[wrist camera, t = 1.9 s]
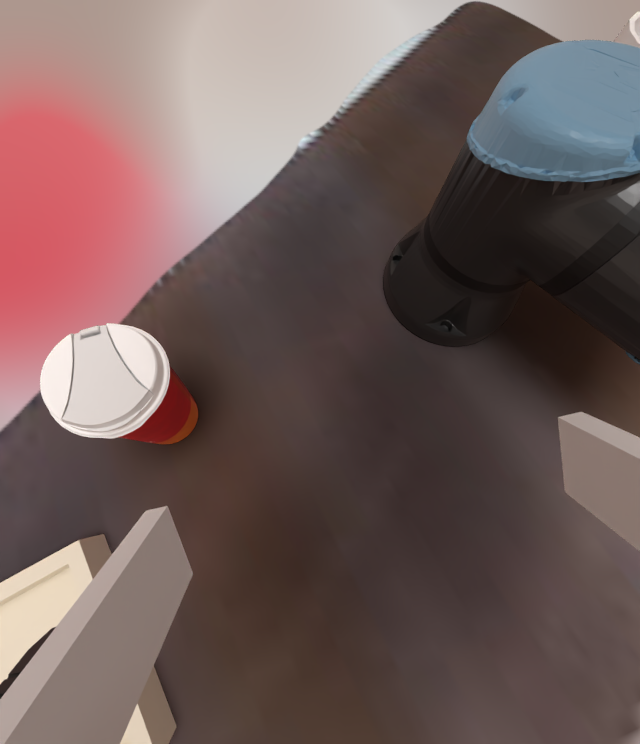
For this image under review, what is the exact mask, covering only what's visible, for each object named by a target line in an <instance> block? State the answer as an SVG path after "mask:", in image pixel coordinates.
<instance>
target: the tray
mask: <svg viewBox="0 0 640 744" xmlns="http://www.w3.org/2000/svg"><path fill="white" fill-rule="evenodd" d="M111 555H112V554H111V551H110V549H109V546H108V543H107V541H106V538H105V535H104V534H101V535H97V536H93V537H89V538H85V539H81V540H78V541H76V542H74V543H72V544H71V545H69V546H67V547H65V548H63V549H61V550H60V551H58V552H56V553H54V554H52V555H50V556H49V557H47V558H45V559H43V560H41V561H39V562H38V563H36V564H34V565H32V566H30V567H29V568H27V569H25V570H23V571H21V572H19V573H18V574H16V575H14V576H12V577H10V578H8V579H7V580H5V581H3V582H1V583H0V684H1V683H2V682H3V680H5V679H7V678H8V674H9V673H10V672H11V670H12V669H13V668H14V667H15V665H16V664H17V663H18V662H19V660H20V659H21V658H22V657H23V656H24V654H25V653H26V652H27V651H28V649H30V648H31V647H32V646H33V645H34V644H35V643H36V642H37V641H38V640H39V639H40V638H42V637H43V636H44V635H45V634H46V633H47V632H48V631H49V630H50V629H51V628H54V627H56V626H57V625H58V624H59V623H60V621H61V620H62V619H63V617H64V616H65V615H66V614H67V612H68V611H69V610H70V608H71V607H72V606H73V604H74V603H75V602H76V601H77V599H78V598H79V597H80V595H81V594H82V593H83V591H84V590H85V589H86V588H87V586H88V585H89V584H90V582H91V581H92V580H93V579H94V577H95V576H96V575H97V573H98V572H99V571H100V569H101V568H102V567H103V566H104V564H105V563H106V562H107V560H108V559H109V558H110V556H111ZM176 727H177V726H176V723H175V721H174V718H173V715H172V713H171V710H170V707H169V705H168V702H167V699H166V697H165V694H164V691H163V689H162V686H161V683H160V681H159V678H158V676H157V673H156V670H155V668H154V666H153V668H152V671H151V673H150V675H149V677H148V680H147V682H146V684H145V687H144V689H143V691H142V694H141V696H140V698H139V701H138V703H137V705H136V708H135V710H134V712H133V715H132V717H131V719H130V722H129V724H128V726H127V729H126V731H125V733H124V736H123V738H122V740H121V743H120V744H169V742H170V740H171V738H172V736H173V734H174V731H175V729H176Z"/></svg>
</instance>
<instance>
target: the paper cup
mask: <svg viewBox="0 0 640 744" xmlns="http://www.w3.org/2000/svg"><path fill="white" fill-rule="evenodd" d="M40 388H41V394H42V397H43V400H44V402H45V404H46V406H47V408H48V409H49V411H50V413H51V415H52V416H53V417H54V419H55V420H56V421H57V422H58V423H59V424H60V425H61V426H62V427H64V428H65V429H67V430H69V431H70V432H72V433H75V434H78V435H81V436H85V437H91V438H110V439H113V438H117V437H120V438H125V439H131V440H137V441H143V442H149V443H155V444H172V443H176V442H179V441H181V440H183V439H184V438H186V437H187V436H188V435H189V434H190V433H191V432H192V431H193V429H194V427H195V425H196V423H197V420H198V408H197V405H196V402H195V400H194V399H193V397H192V395H191V394H190V393H189V391H188V390H187V388H186V387H185V385H184V384H183V383H182V381H181V380H180V379H179V377H178V376H177V374H176V373H175V372H174V370H173V369H172V368H171V366H170V365H169V361H168V358H167V355H166V353H165V351H164V349H163V348H162V346H161V345H160V344H159V342H158V341H157V340H156V339H155V338H153V337H152V336H151V335H150V334H148V333H146V332H145V331H143V330H141V329H138V328H135V327H131V326H126V325H119V324H110V323H107V325H104V326H94V327H91V328H87V329H84V330H80V333H77V334H70V335H68V336H67V337H65V338H64V339H63V340H62V341H60V342H59V343H58V344H57V345H56V346H55V347H54V349H53V350H52V351H51V352H50V354H49V355H48V357H47V359H46V361H45V363H44V365H43V368H42V372H41V378H40Z"/></svg>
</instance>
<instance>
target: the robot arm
mask: <svg viewBox="0 0 640 744" xmlns="http://www.w3.org/2000/svg"><path fill="white" fill-rule="evenodd" d="M529 280H532V281H533V282H534V283H536V284H537V285H539V286H540V287H541V288H543V289H544V290H545V291H547V292H548V293H549V294H551V295H552V296H553V297H554V298H556V299H557V300H558V301H560V302H561V303H562V304H564V305H565V306H566V307H568V308H569V309H570V310H572V311H573V312H574V313H576V314H577V315H578V316H580V317H581V318H582V319H584V320H585V321H586V322H588V323H589V324H590V325H592V326H593V327H595V328H596V329H597V330H599V331H600V332H601V333H603V334H604V335H605V336H607V337H608V338H609V339H611V340H612V341H613V342H615V343H616V344H617V345H619V346H620V347H621V348H623V349H624V350H625V351H626V354H627V355H628V356H629V357H630V358H631V359H632V360H633V361H635V362H636V363H637V364H639V365H640V48H638V47H635V46H631V45H627V44H622V43H616V42H611V41H601V40H582V41H566V42H560V43H555V44H552V45H548V46H545V47H542V48H540V49H538V50H535V51H534V52H532V53H530V54H528V55H526V56H525V57H523V58H522V59H520V60H519V61H518V62H517V63H515V64H514V65H513V66H512V67H511V68H510V69H509V70H508V71H507V72H506V73H505V75H504V76H503V77H502V79H501V80H500V82H499V83H498V85H497V86H496V88H495V90H494V92H493V93H492V95H491V97H490V98H489V100H488V102H487V104H486V105H485V107H484V109H483V110H482V112H481V114H480V115H479V116H478V117H477V118H476V119H475V120H474V122H473V123H472V125H471V128H470V130H469V132H468V136H467V140H466V142H465V144H464V146H463V148H462V149H461V151H460V153H459V155H458V157H457V159H456V161H455V163H454V165H453V167H452V169H451V171H450V173H449V175H448V177H447V179H446V181H445V183H444V185H443V187H442V189H441V191H440V193H439V195H438V197H437V199H436V201H435V203H434V205H433V207H432V209H431V211H430V213H429V215H428V216H427V217H426V218H425V219H424V220H423V221H422V222H420V223H419V224H418V225H417V226H416V227H415V228H414V229H412V230H411V231H410V232H409V233H408V234H407V235H405V236H404V237H403V238H402V239H401V240H400V241H399V243H398V244H397V245H396V247H395V248H394V250H393V251H392V254H391V256H390V258H389V260H388V262H387V265H386V268H385V271H384V277H383V286H384V293H385V297H386V300H387V302H388V304H389V307H390V308H391V310H392V312H393V313H394V315H395V316H396V318H397V319H398V320H399V321H400V322H401V323H402V324H403V325H404V326H405V327H406V328H407V329H408V330H410V331H411V332H412V333H414V334H415V335H417V336H419V337H421V338H423V339H425V340H427V341H429V342H432V343H435V344H439V345H445V346H465V345H470V344H473V343H476V342H479V341H481V340H483V339H484V338H486V337H487V336H489V335H490V334H491V333H493V332H494V331H495V330H497V329H498V328H499V327H500V326H501V325H502V324H503V323H504V322H505V321H506V320H507V318H508V317H509V316H510V314H511V312H512V310H513V308H514V306H515V304H516V302H517V300H518V298H519V296H520V294H521V292H522V290H523V288H524V286H525V284H526V283H527V282H528V281H529ZM558 424H559V434H560V445H561V455H562V466H563V476H564V487H565V492H566V493H567V494H568V495H569V496H571V497H572V498H573V499H574V500H576V501H577V502H578V503H579V504H581V505H582V506H583V507H584V508H586V509H587V510H588V511H589V512H591V513H592V514H593V515H594V516H596V517H597V518H598V519H599V520H601V521H602V522H603V523H605V524H606V525H607V526H608V527H610V528H611V529H612V530H613V531H615V532H616V533H617V534H618V535H620V536H621V537H622V538H623V539H625V540H626V541H627V542H628V543H630V544H631V545H632V546H633V547H635V548H636V549H637V550H639V551H640V438H639V437H637V436H635V435H633V434H630V433H628V432H626V431H624V430H621V429H619V428H617V427H615V426H613V425H610V424H608V423H606V422H604V421H601V420H599V419H597V418H595V417H592V416H590V415H588V414H586V413H583V412H578V413H574V414H570V415H565V416H561V417H558ZM192 575H193V572H192V569H191V567H190V564H189V561H188V559H187V556H186V554H185V551H184V548H183V546H182V543H181V540H180V538H179V535H178V532H177V530H176V527H175V524H174V522H173V519H172V516H171V514H170V511H169V508H168V506H165V507H160V508H156V509H152V510H147V511H145V512H144V514H143V515H142V516H141V518H140V519H139V520H138V521H137V523H136V524H135V525H134V527H133V528H132V529H131V531H130V532H129V533H128V534H127V536H126V537H125V538H124V540H123V541H122V542H121V544H120V545H119V546H118V547H117V549H116V550H115V551H114V553H113V554H112V555H111V556H110V558H109V559H108V560H107V562H106V563H105V564H104V566H103V567H102V568H101V569H100V571H99V572H98V573H97V575H96V576H95V577H94V579H93V580H92V581H91V582H90V584H89V585H88V586H87V588H86V589H85V590H84V591H83V593H82V594H81V595H80V597H79V598H78V599H77V601H76V602H75V603H74V604H73V606H72V607H71V608H70V610H69V611H68V612H67V614H66V615H65V616H64V617H63V619H62V620H61V621H60V623H59V624H58V625H57V626H56V627H54V628H51V629H50V630H49V631H48V632H47V633H46V634H45V635H44V636H43V637H42V638H40V639H39V640H38V641H37V642H36V643H35V644H34V645H33V646H32V647H31V648H30V649H28V651H27V652H26V653H25V654H24V656H23V657H22V658H21V659H20V660H19V662H18V663H17V664H16V665H15V667H14V668H13V669H12V670H11V672H10V673H9V674H8V678H7V679H5V680H3V682H2V683H1V684H0V744H120V743H121V740H122V738H123V736H124V733H125V731H126V729H127V726H128V724H129V722H130V719H131V717H132V715H133V712H134V710H135V708H136V705H137V703H138V701H139V698H140V696H141V694H142V691H143V689H144V687H145V684H146V682H147V680H148V677H149V675H150V673H151V671H152V668H153V666H154V664H155V661H156V659H157V657H158V654H159V652H160V650H161V647H162V645H163V643H164V640H165V638H166V636H167V633H168V631H169V629H170V626H171V624H172V622H173V619H174V617H175V615H176V612H177V610H178V608H179V605H180V603H181V601H182V598H183V596H184V594H185V591H186V589H187V587H188V585H189V582H190V580H191V578H192Z"/></svg>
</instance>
